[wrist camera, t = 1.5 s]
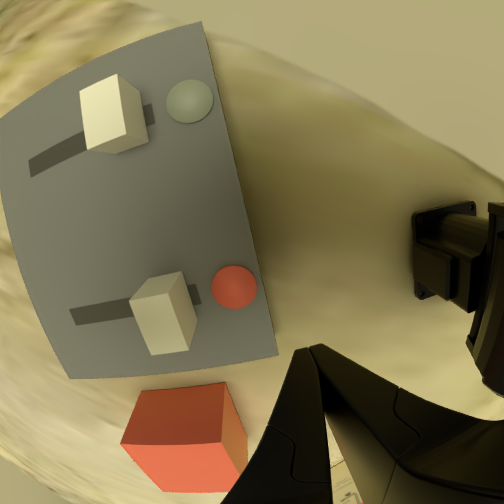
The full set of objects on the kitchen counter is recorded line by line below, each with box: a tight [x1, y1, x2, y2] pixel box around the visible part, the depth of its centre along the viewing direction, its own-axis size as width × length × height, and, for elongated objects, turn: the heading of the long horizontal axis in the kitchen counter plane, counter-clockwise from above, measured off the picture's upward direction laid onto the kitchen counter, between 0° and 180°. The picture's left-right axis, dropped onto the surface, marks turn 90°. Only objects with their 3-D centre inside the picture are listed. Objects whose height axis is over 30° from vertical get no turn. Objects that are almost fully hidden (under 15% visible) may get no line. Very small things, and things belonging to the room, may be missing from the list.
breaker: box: [79, 74, 149, 154], centre depth 11 cm, size 2×3×3 cm, turn 12°
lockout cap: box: [120, 382, 248, 493], centre depth 18 cm, size 7×7×6 cm
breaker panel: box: [0, 22, 279, 379], centre depth 15 cm, size 16×20×3 cm
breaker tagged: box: [129, 271, 198, 355], centre depth 14 cm, size 2×3×3 cm, turn 12°
